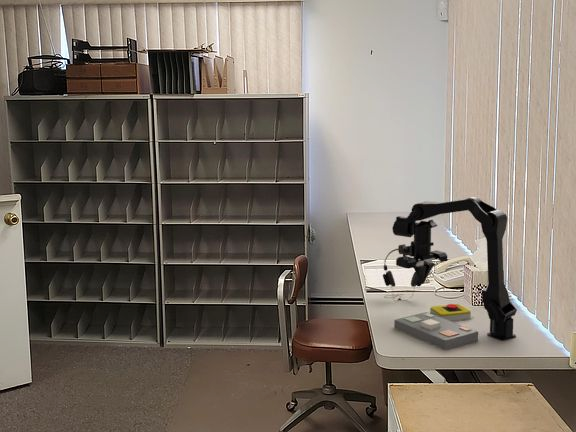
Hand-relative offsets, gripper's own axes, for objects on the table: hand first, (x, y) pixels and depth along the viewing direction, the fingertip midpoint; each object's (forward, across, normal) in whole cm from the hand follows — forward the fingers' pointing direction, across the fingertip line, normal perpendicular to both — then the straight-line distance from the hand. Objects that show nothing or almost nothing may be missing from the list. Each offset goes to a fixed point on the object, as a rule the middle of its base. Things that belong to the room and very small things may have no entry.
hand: (421, 283), depth 227 cm
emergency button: (+13, -9, +5) cm, 16 cm away
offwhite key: (+10, +10, +15) cm, 20 cm away
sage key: (+11, +10, +7) cm, 16 cm away
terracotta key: (+11, +10, +23) cm, 27 cm away
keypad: (+12, +8, +15) cm, 21 cm away
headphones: (+12, -9, -20) cm, 25 cm away
